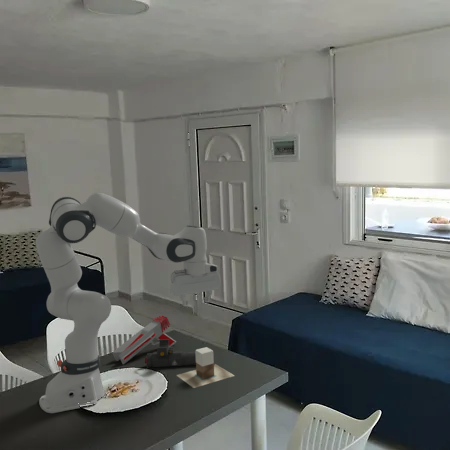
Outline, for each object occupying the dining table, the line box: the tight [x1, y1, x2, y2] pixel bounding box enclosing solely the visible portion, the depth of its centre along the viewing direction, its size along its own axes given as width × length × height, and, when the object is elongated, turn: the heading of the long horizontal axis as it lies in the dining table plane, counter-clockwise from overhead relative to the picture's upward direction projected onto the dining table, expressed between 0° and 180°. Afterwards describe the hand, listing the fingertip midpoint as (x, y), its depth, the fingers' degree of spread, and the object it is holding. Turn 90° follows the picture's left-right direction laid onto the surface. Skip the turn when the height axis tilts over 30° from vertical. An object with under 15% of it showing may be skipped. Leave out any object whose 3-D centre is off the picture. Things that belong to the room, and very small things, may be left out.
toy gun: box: [111, 315, 177, 365], centre depth 225 cm, size 7×28×15 cm, turn 133°
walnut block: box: [195, 363, 215, 379], centre depth 198 cm, size 5×5×5 cm
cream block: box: [194, 346, 215, 366], centre depth 197 cm, size 5×5×5 cm
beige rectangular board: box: [176, 363, 235, 389], centre depth 198 cm, size 18×14×1 cm
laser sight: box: [144, 339, 196, 369], centre depth 210 cm, size 10×22×10 cm, turn 91°
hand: (196, 303), depth 196 cm, fingers open, 8 cm apart
